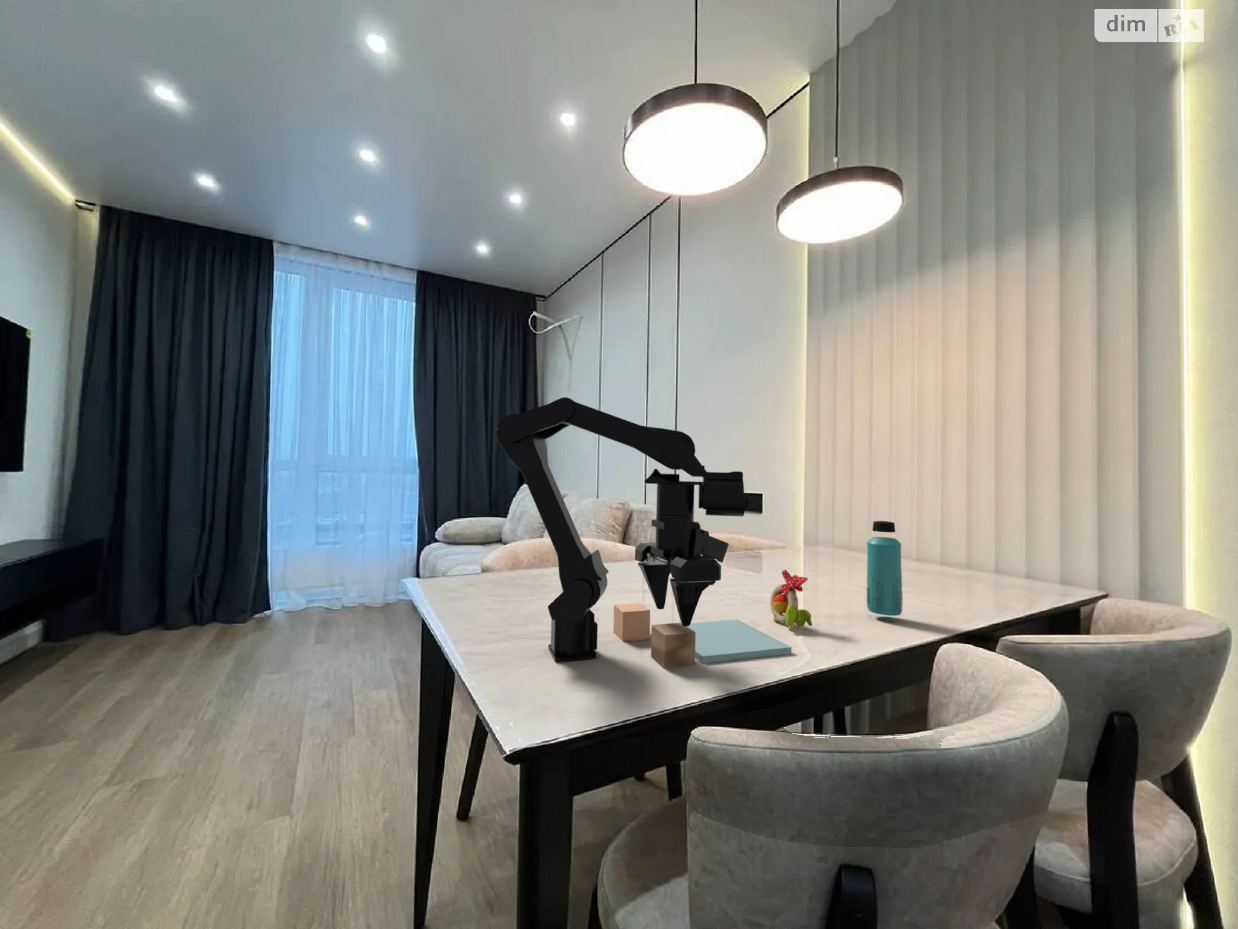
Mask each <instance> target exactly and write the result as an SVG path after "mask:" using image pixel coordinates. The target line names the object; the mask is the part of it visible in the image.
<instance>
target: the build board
mask: <svg viewBox="0 0 1238 929" xmlns="http://www.w3.org/2000/svg"><path fill="white" fill-rule="evenodd" d="M687 627H688V628H690V629H691V630H693V631H694V632H696V638H695V660H697V661H699V662H700V663H701V664H707V663H718V662H723V661H724V662H725V661H733V660H745V659H753V658H763V657H771V656H779V654H782V655H790V654H792V646H790V645H788V644H786V643H784V642H783V641H780V640H778V639H777V638H775V637H773V636H771V635H769V634H767V633H766V632H763V631H760V630H759V629H757V628H756V627H753V626H751V625H750V624H747V623H746V622H743V621H742V620H739V619H738V618H737V619H735V618H734V619H725V620H724V619H722V620H713V621H711V620H710V621H699V622H691V624H690V626H687Z"/></svg>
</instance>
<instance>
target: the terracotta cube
mask: <svg viewBox="0 0 1238 929" xmlns="http://www.w3.org/2000/svg"><path fill="white" fill-rule="evenodd" d="M612 630H613V634H615V636H616V637H619V638H618V639H619V641H621V640H622V641H621V642H629V641H628V640H632V641H640V640H641V641H642V640H650V639H651V637H650V636H651V633H650V632H651V631H650V630H651V610H650V609H649V608H648V607H646V606H645V605H643V604H642V603H641V602H634V603H633V602H632V603H619V604H614V605H613V626H612Z"/></svg>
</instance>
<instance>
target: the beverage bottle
mask: <svg viewBox="0 0 1238 929" xmlns="http://www.w3.org/2000/svg"><path fill="white" fill-rule="evenodd" d="M872 531H873V532H877V533H879V532H880V533H896V526H895V522H893V521H887V520H875V521H873V522H872ZM866 545H867V548H866V549H867V551H866V552H867V554H866V555H867V557H866V561H867V562H866V574H867V575H866V581H865V582H866V585H867V586H866V607H867V609H868V611H869V612H871V613H873V614H876V615H877V614H878V615H881V616H890V617H891V616H892V617H893V616H894V617H895V616H896V617H897V616H901V615H902V612H903V600H904V599H903V575H902V574H903V571H902V543H901V542H900V541H899V540H898V539H896V538H894V537H886V536H873V537H871V538H870V539H868V541H867V542H866Z"/></svg>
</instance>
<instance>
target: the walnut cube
mask: <svg viewBox="0 0 1238 929" xmlns="http://www.w3.org/2000/svg"><path fill="white" fill-rule="evenodd" d="M650 636H651V637H650V639H651V640H650V641H651V644H650V646H651V647H650V657H651V658H652V659H653V660H654V661H655V662H656V663H657V664H658V665H659V666H660V667H661V668H662V669H663V670H667V669H668V670H669V669H677V668H686V667H695V666H696V658H695V638H696V632H694V631H693V630H691V629H690V628H688V627H687V626H682V623H681V622H674V623H673V622H671V623H662V624H661V623H659V624H651V634H650Z"/></svg>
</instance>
